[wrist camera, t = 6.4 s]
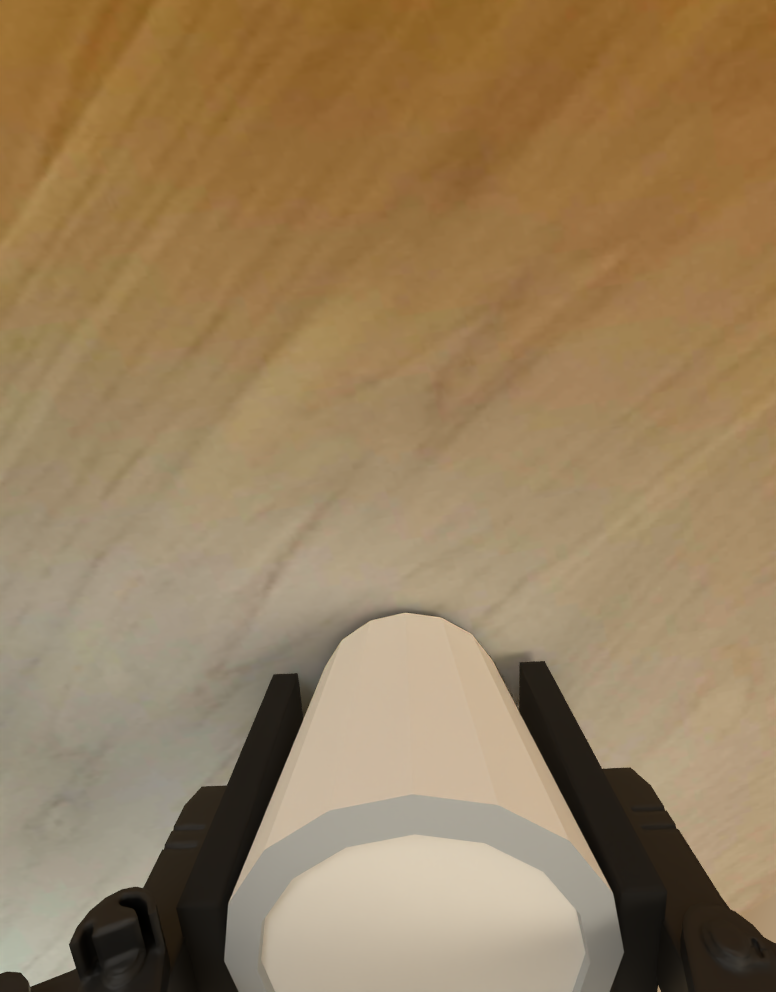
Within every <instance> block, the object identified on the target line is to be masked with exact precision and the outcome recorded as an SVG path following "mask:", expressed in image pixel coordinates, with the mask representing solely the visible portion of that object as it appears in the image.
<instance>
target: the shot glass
mask: <svg viewBox="0 0 776 992" xmlns="http://www.w3.org/2000/svg"><path fill="white" fill-rule="evenodd" d="M623 954H624V949H623V944H622V938H621V933H620V928H619V922H618V917H617V911H616V906H615V901H614V895H613V892H612V890H611V888H610V886H609V885H608V883H607V881H606V879H605V877H604V875H603V873H602V871H601V869H600V867H599V865H598V863H597V861H596V859H595V858H594V856H593V854H592V852H591V850H590V848H589V846H588V844H587V842H586V840H585V838H584V836H583V834H582V832H581V830H580V829H579V827H578V825H577V823H576V821H575V819H574V817H573V815H572V813H571V811H570V809H569V807H568V805H567V803H566V802H565V800H564V798H563V796H562V794H561V792H560V790H559V788H558V786H557V784H556V782H555V780H554V778H553V776H552V774H551V773H550V771H549V769H548V767H547V765H546V763H545V761H544V759H543V757H542V755H541V753H540V751H539V749H538V747H537V746H536V744H535V742H534V740H533V738H532V736H531V734H530V732H529V730H528V728H527V726H526V724H525V722H524V720H523V718H522V717H521V715H520V713H519V711H518V709H517V707H516V705H515V703H514V701H513V699H512V697H511V695H510V693H509V691H508V690H507V688H506V686H505V684H504V682H503V680H502V678H501V676H500V674H499V672H498V670H497V668H496V666H495V664H494V663H493V661H492V659H491V658H490V657H489V655H488V654H487V653H486V651H485V650H484V649H483V648H482V646H481V645H480V644H479V643H478V641H477V640H476V639H475V638H474V636H473V635H472V634H471V633H469V632H467V631H465V630H463V629H461V628H460V627H458V626H456V625H454V624H452V623H450V622H449V621H447V620H445V619H443V618H441V617H434V616H427V615H419V614H412V613H402V614H397V615H393V616H388V617H384V618H380V619H375V620H371V621H369V622H368V623H366V624H365V625H363V626H362V627H360V628H359V629H357V630H356V631H354V632H353V633H351V634H350V635H348V636H347V637H345V638H344V639H343V640H342V641H341V642H340V644H339V645H338V647H337V649H336V650H335V652H334V653H333V655H332V656H331V658H330V660H329V661H328V663H327V664H326V666H325V668H324V670H323V673H322V675H321V678H320V680H319V683H318V685H317V687H316V690H315V692H314V695H313V697H312V700H311V702H310V705H309V707H308V710H307V712H306V714H305V717H304V719H303V722H302V724H301V727H300V729H299V732H298V734H297V736H296V739H295V741H294V744H293V746H292V749H291V751H290V754H289V756H288V759H287V761H286V763H285V766H284V768H283V771H282V773H281V776H280V778H279V781H278V783H277V785H276V788H275V790H274V793H273V795H272V798H271V800H270V803H269V805H268V808H267V810H266V812H265V815H264V817H263V820H262V822H261V825H260V827H259V830H258V832H257V834H256V837H255V839H254V842H253V844H252V847H251V849H250V852H249V854H248V857H247V859H246V861H245V864H244V866H243V869H242V871H241V874H240V876H239V879H238V881H237V883H236V886H235V888H234V891H233V893H232V896H231V898H230V901H229V903H228V914H227V928H226V942H225V956H224V962H225V964H226V966H227V968H228V970H229V972H230V975H231V977H232V979H233V981H234V983H235V985H236V987H237V989H238V991H239V992H610V989H611V987H612V984H613V981H614V978H615V976H616V973H617V970H618V967H619V965H620V962H621V959H622V956H623Z"/></svg>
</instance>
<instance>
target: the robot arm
mask: <svg viewBox="0 0 776 992" xmlns="http://www.w3.org/2000/svg"><path fill="white" fill-rule="evenodd" d="M520 715H521V717H522V718H523V720H524V722H525V724H526V726H527V728H528V730H529V732H530V734H531V736H532V738H533V740H534V742H535V744H536V746H537V747H538V749H539V751H540V753H541V755H542V757H543V759H544V761H545V763H546V765H547V767H548V769H549V771H550V773H551V774H552V776H553V778H554V780H555V782H556V784H557V786H558V788H559V790H560V792H561V794H562V796H563V798H564V800H565V802H566V803H567V805H568V807H569V809H570V811H571V813H572V815H573V817H574V819H575V821H576V823H577V825H578V827H579V829H580V830H581V832H582V834H583V836H584V838H585V840H586V842H587V844H588V846H589V848H590V850H591V852H592V854H593V856H594V858H595V859H596V861H597V863H598V865H599V867H600V869H601V871H602V873H603V875H604V877H605V879H606V881H607V883H608V885H609V886H610V888H611V890H612V892H613V895H614V901H615V906H616V911H617V917H618V922H619V928H620V933H621V938H622V944H623V949H624V954H623V956H622V959H621V962H620V965H619V967H618V970H617V973H616V976H615V978H614V981H613V984H612V987H611V989H610V992H657V988H658V985H659V988H660V990H661V992H776V943H773V942H771V941H769V940H768V939H766V938H764V937H763V936H762V935H761V934H760V932H759V931H758V930H757V929H756V928H755V927H754V926H753V925H752V924H751V923H750V922H748V921H747V920H746V919H744V918H743V917H742V916H740V915H739V914H738V913H736V912H735V911H732V910H730V908H729V907H728V906H727V904H726V903H725V902H724V900H723V899H722V897H721V896H720V894H719V893H718V891H717V890H716V888H715V886H714V885H713V883H712V882H711V880H710V879H709V877H708V875H707V874H706V872H705V871H704V869H703V867H702V866H701V864H700V863H699V861H698V860H697V858H696V856H695V855H694V853H693V852H692V850H691V848H690V847H689V845H688V844H687V842H686V841H685V839H684V837H683V836H682V834H681V833H680V831H679V830H678V829H676V826H675V823H674V822H673V820H672V818H671V817H670V815H669V814H668V812H667V811H665V809H664V806H663V804H662V803H661V801H660V799H659V798H658V796H657V795H656V793H655V792H654V790H653V788H652V787H651V785H650V784H648V783H647V782H646V781H645V780H644V779H643V778H642V777H641V776H639V775H638V774H637V773H636V772H635V771H634V770H633V769H631V768H608V769H602V768H601V766H600V764H599V762H598V760H597V759H596V757H595V755H594V753H593V751H592V749H591V747H590V746H589V744H588V742H587V740H586V738H585V736H584V734H583V732H582V731H581V729H580V727H579V725H578V723H577V721H576V719H575V717H574V716H573V714H572V712H571V710H570V708H569V706H568V704H567V702H566V701H565V699H564V697H563V695H562V693H561V691H560V689H559V687H558V686H557V684H556V682H555V680H554V678H553V676H552V674H551V672H550V671H549V669H548V667H547V665H546V663H545V661H540V662H520ZM302 722H303V711H302V703H301V696H300V688H299V680H298V673H294V674H274V675H273V677H272V679H271V682H270V684H269V687H268V689H267V691H266V694H265V696H264V699H263V701H262V703H261V706H260V708H259V711H258V713H257V715H256V718H255V720H254V722H253V725H252V727H251V730H250V732H249V734H248V737H247V739H246V742H245V744H244V746H243V749H242V751H241V754H240V756H239V758H238V761H237V763H236V765H235V768H234V770H233V773H232V775H231V777H230V780H229V782H228V785H227V786H206V787H201V788H200V789H199V790H198V791H197V793H196V794H195V795H194V796H193V797H192V798H191V799H190V800H189V801H188V802H187V803H186V804H185V806H184V808H183V810H182V812H181V814H180V816H179V818H178V820H177V822H176V824H175V826H174V830H173V831H172V832H171V834H170V836H169V838H168V840H167V842H166V844H165V848H164V850H162V852H161V854H160V856H159V858H158V860H157V862H156V864H155V866H154V868H153V870H152V872H151V874H150V876H149V878H148V880H147V882H146V884H145V886H144V888H139V887H132V888H127V889H122V890H120V891H118V892H116V893H114V894H112V895H110V896H108V897H106V898H105V899H104V900H102V901H101V902H100V903H99V904H98V905H96V906H95V907H94V908H93V909H92V910H90V911H89V913H88V914H87V915H86V916H85V918H84V919H83V920H82V922H81V923H80V924H79V925H78V927H77V928H76V931H75V933H74V935H73V937H72V939H71V942H70V944H69V947H70V950H71V953H72V956H73V959H74V963H75V966H76V969H74V970H72V971H70V972H67V973H65V974H62V975H60V976H57V977H55V978H52V979H50V980H47V981H45V982H42V983H39V984H37V985H34V986H32V987H30V985H29V983H28V981H27V979H26V978H25V977H24V976H23V975H22V974H21V973H17V972H5V973H2V974H0V992H239V991H238V989H237V987H236V985H235V983H234V981H233V979H232V977H231V975H230V972H229V970H228V968H227V966H226V964H225V962H224V956H225V942H226V928H227V914H228V903H229V901H230V898H231V896H232V893H233V891H234V888H235V886H236V883H237V881H238V879H239V876H240V874H241V871H242V869H243V866H244V864H245V861H246V859H247V857H248V854H249V852H250V849H251V847H252V844H253V842H254V839H255V837H256V834H257V832H258V830H259V827H260V825H261V822H262V820H263V817H264V815H265V812H266V810H267V808H268V805H269V803H270V800H271V798H272V795H273V793H274V790H275V788H276V785H277V783H278V781H279V778H280V776H281V773H282V771H283V768H284V766H285V763H286V761H287V759H288V756H289V754H290V751H291V749H292V746H293V744H294V741H295V739H296V736H297V734H298V732H299V729H300V727H301V724H302Z"/></svg>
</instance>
